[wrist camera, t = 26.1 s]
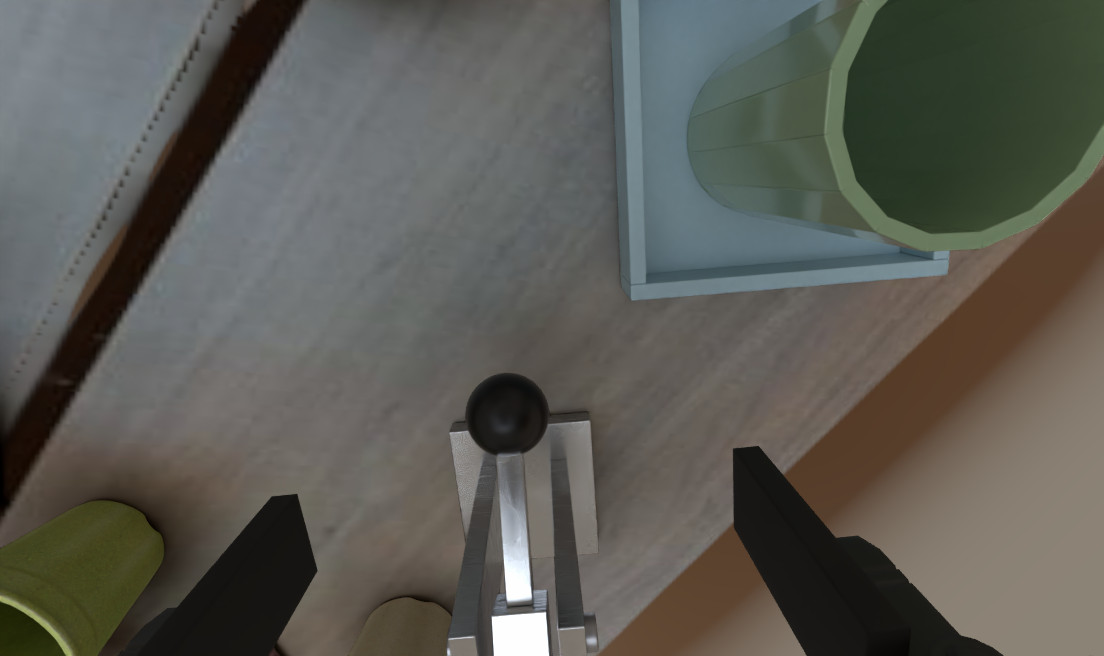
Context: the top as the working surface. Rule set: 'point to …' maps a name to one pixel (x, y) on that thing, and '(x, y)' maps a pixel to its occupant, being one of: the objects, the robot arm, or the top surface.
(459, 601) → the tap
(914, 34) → the cup
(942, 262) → the tray
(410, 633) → the flower pot
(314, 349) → the top surface
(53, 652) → the plant pot
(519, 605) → the tap lever
